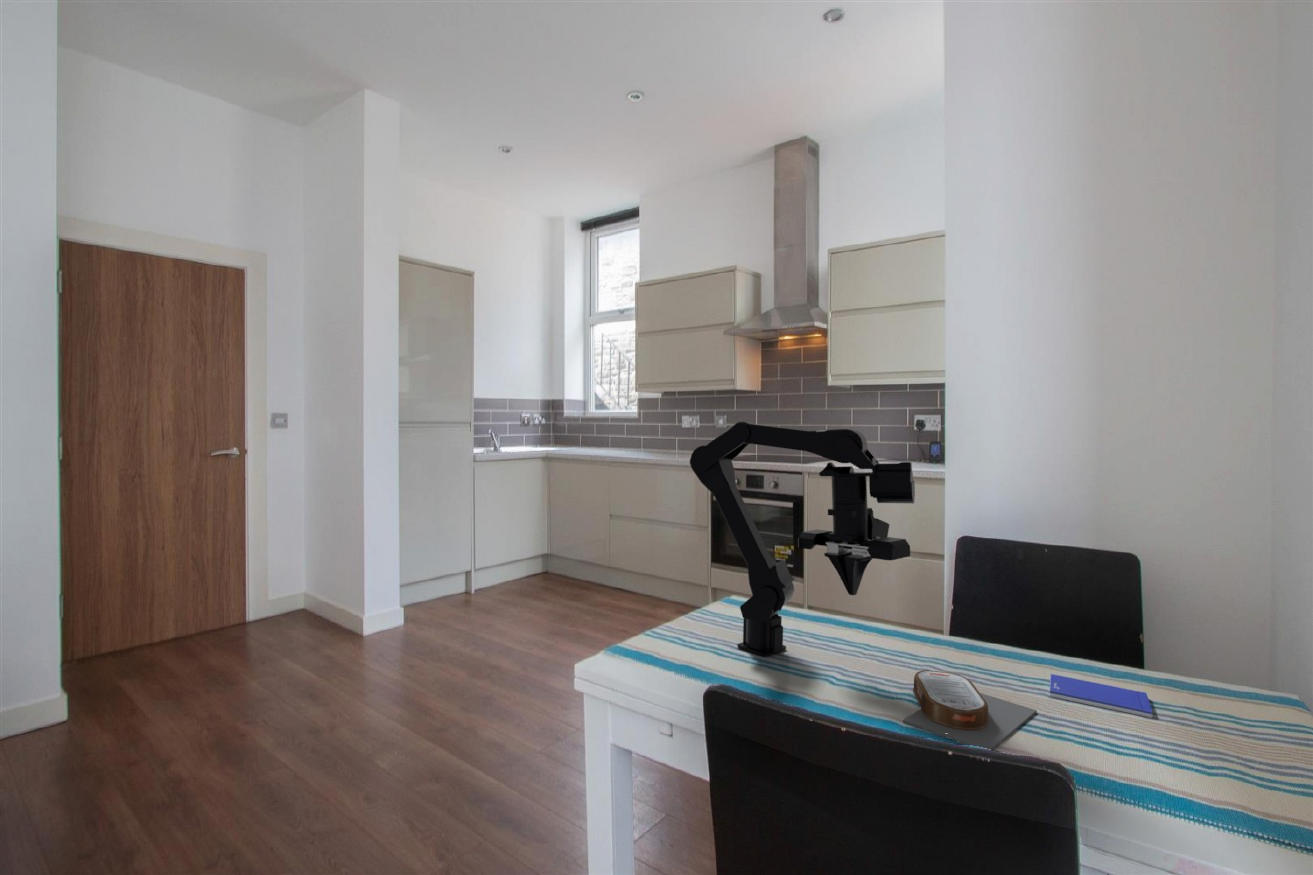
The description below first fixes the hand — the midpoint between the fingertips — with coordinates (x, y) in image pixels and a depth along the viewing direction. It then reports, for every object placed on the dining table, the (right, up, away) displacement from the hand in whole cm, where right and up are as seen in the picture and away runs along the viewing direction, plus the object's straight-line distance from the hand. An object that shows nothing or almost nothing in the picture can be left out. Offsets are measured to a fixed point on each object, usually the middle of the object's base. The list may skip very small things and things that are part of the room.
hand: (852, 594), depth 107 cm
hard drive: (+34, -14, -11) cm, 38 cm away
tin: (+5, -10, -15) cm, 19 cm away
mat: (+11, -12, -19) cm, 25 cm away
